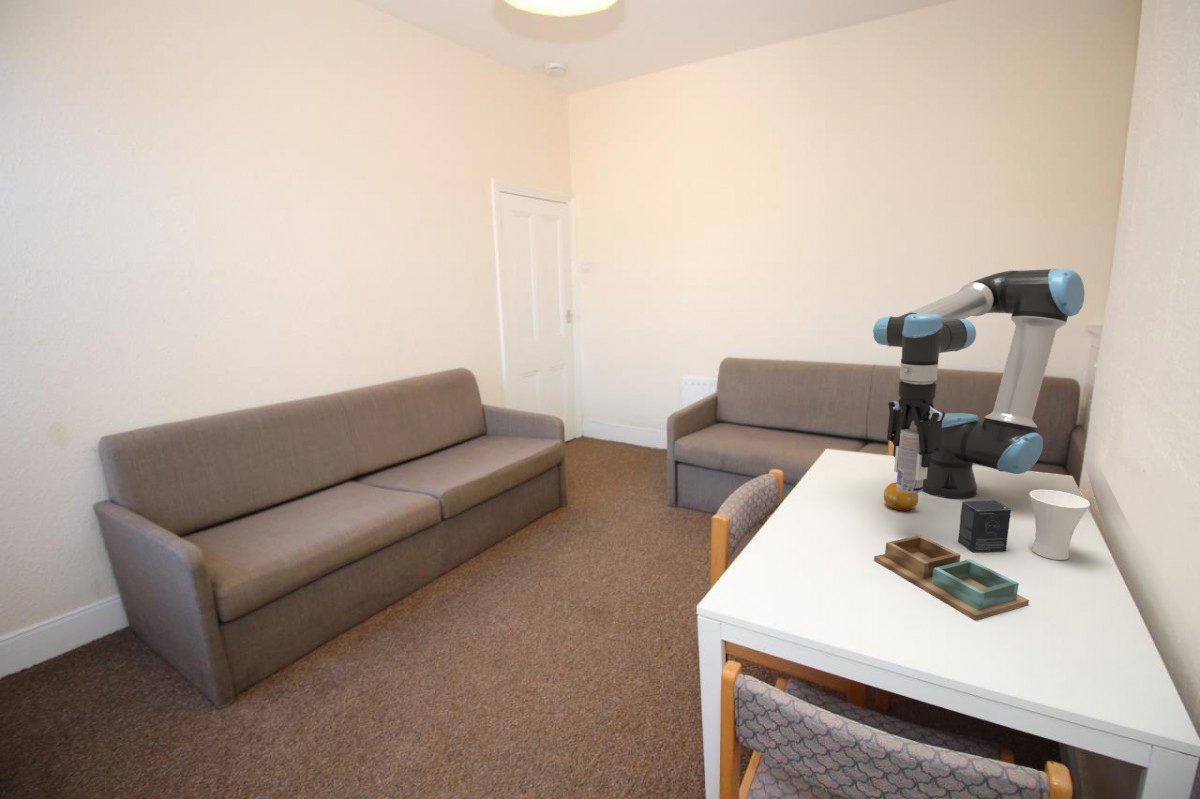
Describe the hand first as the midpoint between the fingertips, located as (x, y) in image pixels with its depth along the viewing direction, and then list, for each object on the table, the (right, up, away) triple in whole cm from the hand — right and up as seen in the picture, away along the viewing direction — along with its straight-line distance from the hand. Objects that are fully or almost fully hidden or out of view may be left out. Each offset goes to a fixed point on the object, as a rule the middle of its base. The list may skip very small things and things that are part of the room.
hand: (910, 474), depth 132 cm
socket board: (-2, -20, -17) cm, 27 cm away
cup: (+28, -17, -7) cm, 34 cm away
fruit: (+8, -12, +19) cm, 24 cm away
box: (+15, -17, -3) cm, 23 cm away
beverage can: (0, -4, +1) cm, 4 cm away
